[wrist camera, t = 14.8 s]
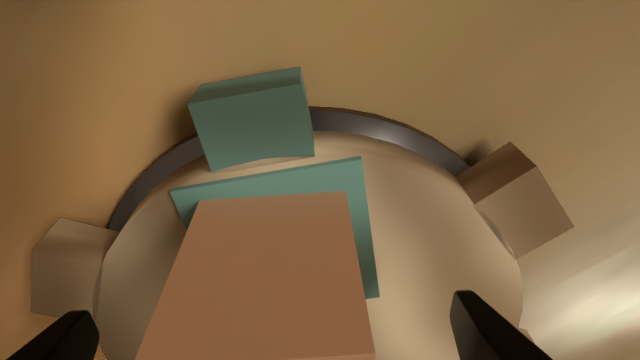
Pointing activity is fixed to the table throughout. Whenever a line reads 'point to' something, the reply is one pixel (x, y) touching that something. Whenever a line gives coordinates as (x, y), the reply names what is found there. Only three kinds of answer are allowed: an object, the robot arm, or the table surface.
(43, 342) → the robot arm
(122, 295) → the sprocket disc
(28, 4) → the table surface
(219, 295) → the link block
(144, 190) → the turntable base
